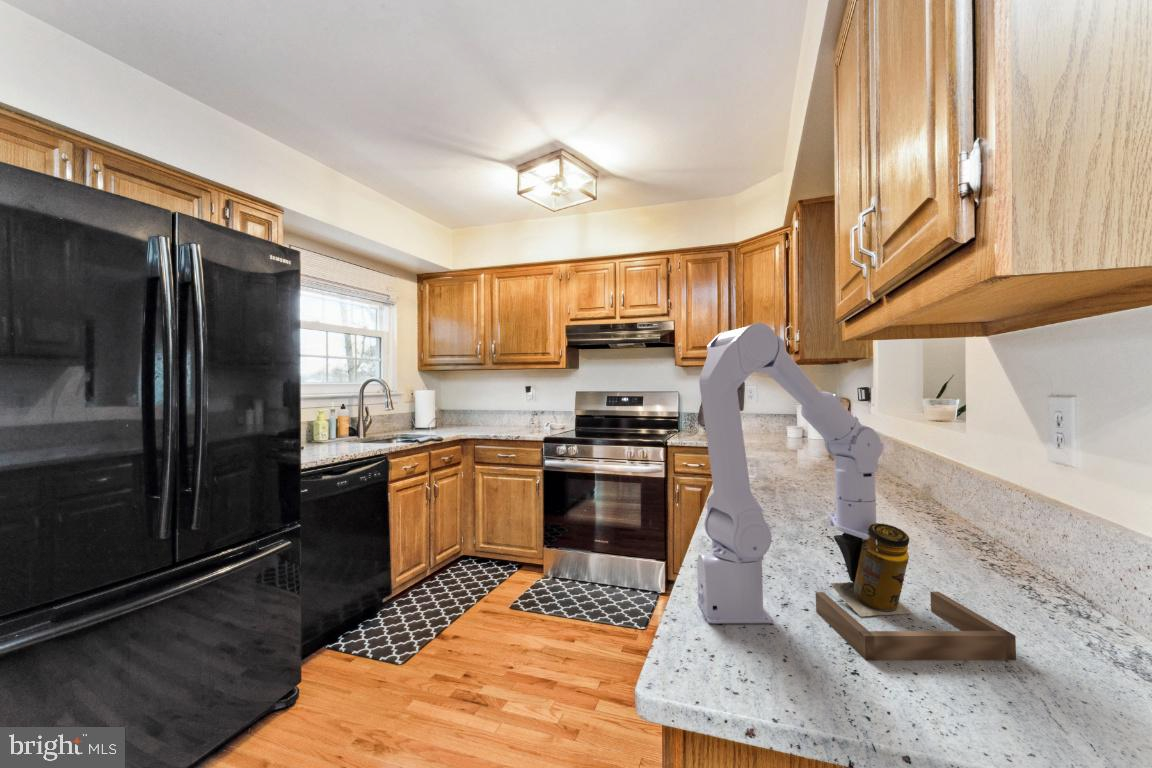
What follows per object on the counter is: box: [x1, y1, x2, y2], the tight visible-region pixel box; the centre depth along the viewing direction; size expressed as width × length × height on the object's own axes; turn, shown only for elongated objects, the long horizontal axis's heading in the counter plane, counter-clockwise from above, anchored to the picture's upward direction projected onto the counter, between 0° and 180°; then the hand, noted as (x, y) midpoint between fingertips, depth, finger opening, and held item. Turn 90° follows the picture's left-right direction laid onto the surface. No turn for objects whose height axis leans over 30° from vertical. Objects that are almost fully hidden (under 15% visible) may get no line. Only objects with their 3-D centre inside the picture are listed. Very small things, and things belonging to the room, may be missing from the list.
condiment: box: [830, 522, 912, 617], centre depth 73 cm, size 7×8×12 cm
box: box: [815, 590, 1017, 661], centre depth 66 cm, size 18×13×3 cm
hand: (858, 581), depth 78 cm, fingers closed, pressing on condiment
